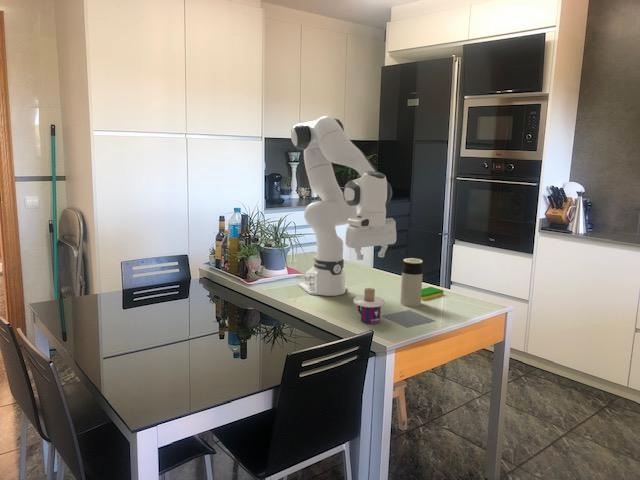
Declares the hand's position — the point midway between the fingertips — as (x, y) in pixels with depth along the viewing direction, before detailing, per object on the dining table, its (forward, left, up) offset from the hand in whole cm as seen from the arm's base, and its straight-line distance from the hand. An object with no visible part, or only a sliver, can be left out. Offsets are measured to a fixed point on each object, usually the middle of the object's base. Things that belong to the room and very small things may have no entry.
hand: (370, 258), depth 182 cm
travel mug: (-7, +27, -23) cm, 36 cm away
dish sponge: (-13, +42, -24) cm, 50 cm away
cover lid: (0, 0, -16) cm, 16 cm away
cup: (0, 0, -23) cm, 23 cm away
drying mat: (+6, +14, -23) cm, 27 cm away
